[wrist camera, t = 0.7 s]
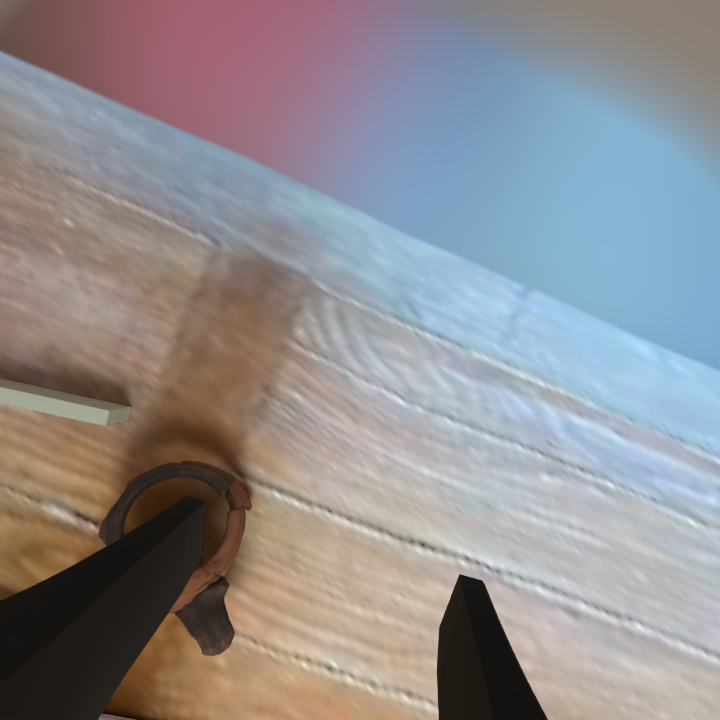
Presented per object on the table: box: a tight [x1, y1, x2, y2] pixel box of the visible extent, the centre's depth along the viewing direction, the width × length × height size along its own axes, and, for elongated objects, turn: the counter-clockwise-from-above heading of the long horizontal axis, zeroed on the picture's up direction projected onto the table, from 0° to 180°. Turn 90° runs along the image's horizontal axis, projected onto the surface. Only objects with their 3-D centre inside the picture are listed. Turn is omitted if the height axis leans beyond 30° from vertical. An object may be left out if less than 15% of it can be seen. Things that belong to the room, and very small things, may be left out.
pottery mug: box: [99, 461, 252, 656], centre depth 28 cm, size 12×10×8 cm
